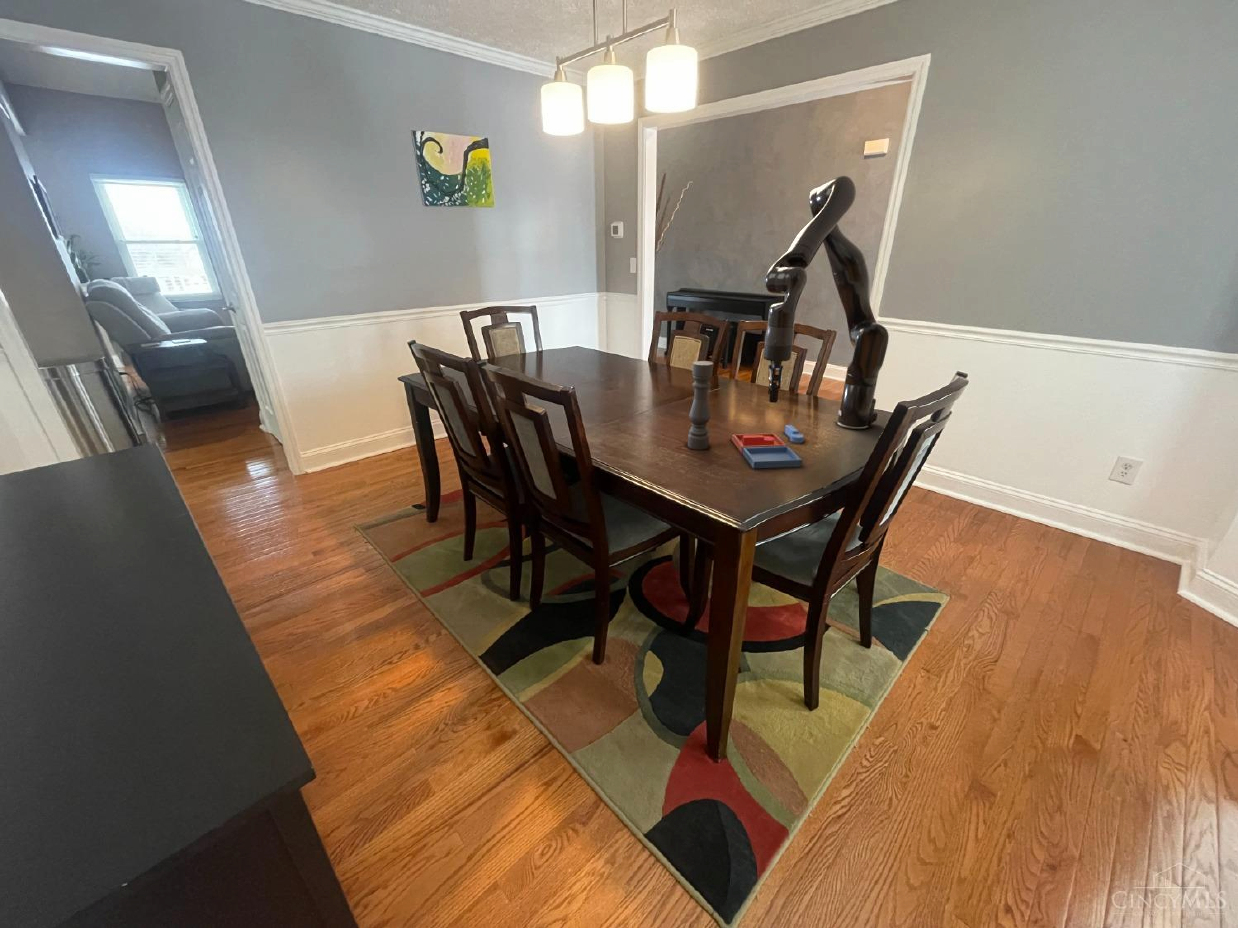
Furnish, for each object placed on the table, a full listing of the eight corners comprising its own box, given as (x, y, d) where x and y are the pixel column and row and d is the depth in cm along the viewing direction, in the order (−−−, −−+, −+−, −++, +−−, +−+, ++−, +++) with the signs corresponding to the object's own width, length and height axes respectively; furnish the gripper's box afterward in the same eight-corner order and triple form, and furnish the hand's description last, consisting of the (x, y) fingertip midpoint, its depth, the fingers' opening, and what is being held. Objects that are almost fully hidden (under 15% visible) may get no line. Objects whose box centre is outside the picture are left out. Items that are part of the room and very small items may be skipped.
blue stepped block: (781, 432, 157) (782, 425, 156) (793, 432, 158) (794, 424, 157) (792, 443, 149) (794, 435, 148) (805, 442, 149) (806, 434, 148)
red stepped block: (744, 447, 145) (745, 438, 144) (740, 442, 149) (741, 434, 148) (775, 446, 146) (776, 437, 145) (771, 441, 149) (772, 433, 148)
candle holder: (709, 443, 149) (715, 361, 139) (706, 450, 144) (712, 366, 134) (689, 441, 151) (694, 360, 141) (685, 448, 146) (689, 364, 136)
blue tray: (787, 452, 142) (787, 446, 141) (801, 466, 133) (802, 460, 132) (742, 454, 142) (742, 447, 141) (753, 468, 132) (754, 461, 131)
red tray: (773, 439, 152) (774, 433, 151) (786, 451, 143) (786, 445, 142) (731, 440, 152) (732, 434, 151) (741, 452, 142) (742, 446, 141)
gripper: (794, 347, 131) (787, 405, 137) (790, 338, 143) (784, 392, 150) (765, 346, 132) (759, 404, 139) (764, 338, 145) (758, 391, 152)
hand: (772, 398), depth 144 cm, fingers open, 8 cm apart
